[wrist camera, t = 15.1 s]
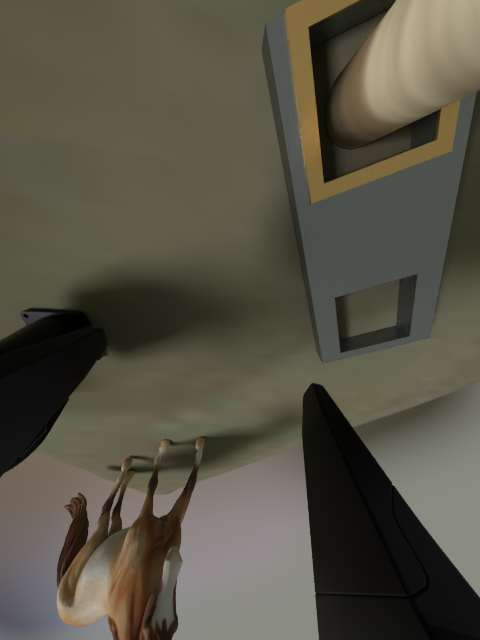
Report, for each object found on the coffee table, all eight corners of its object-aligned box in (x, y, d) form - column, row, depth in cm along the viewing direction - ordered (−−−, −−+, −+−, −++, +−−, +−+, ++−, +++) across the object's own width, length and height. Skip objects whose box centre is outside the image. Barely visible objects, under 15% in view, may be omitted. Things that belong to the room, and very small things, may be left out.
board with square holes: (415, 327, 22) (431, 338, 20) (316, 352, 24) (323, 364, 22) (468, -60, 10) (522, -123, 8) (261, 49, 12) (265, 20, 10)
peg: (332, 162, 15) (465, 101, 6) (318, 83, 13) (490, -182, 4) (395, 128, 14) (663, -2, 5) (391, 36, 12) (831, -448, 3)
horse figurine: (200, 413, 30) (145, 709, 13) (230, 436, 34) (220, 695, 16) (84, 468, 39) (-41, 683, 22) (117, 482, 43) (30, 678, 25)
